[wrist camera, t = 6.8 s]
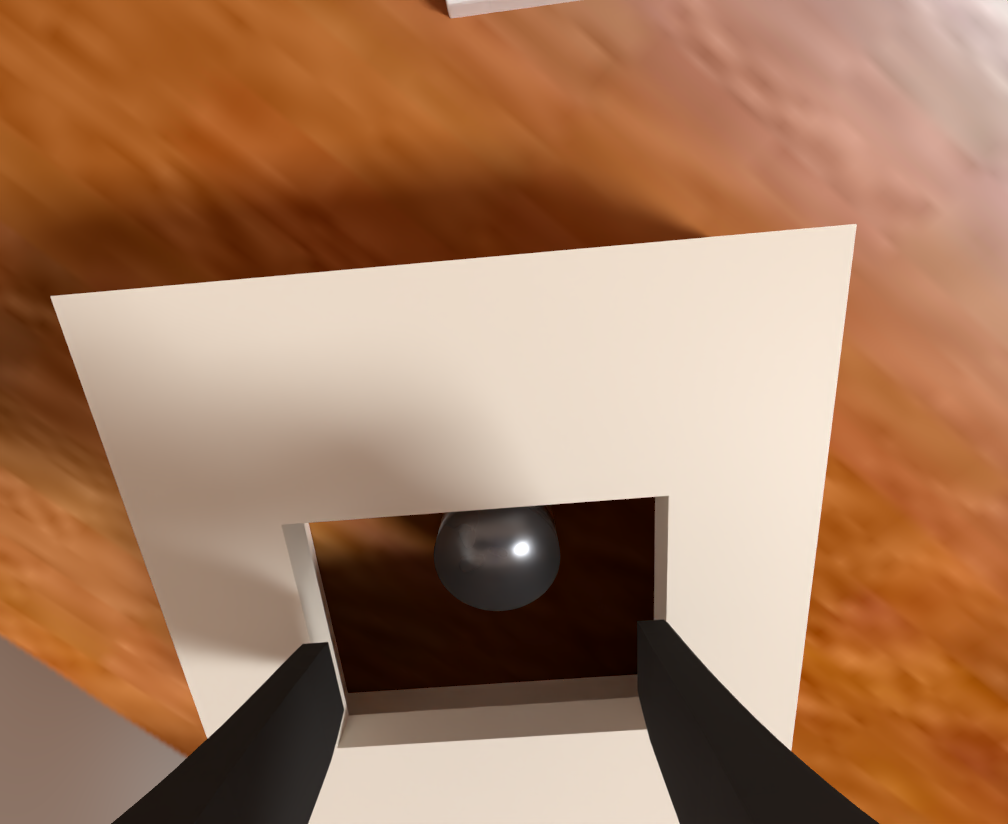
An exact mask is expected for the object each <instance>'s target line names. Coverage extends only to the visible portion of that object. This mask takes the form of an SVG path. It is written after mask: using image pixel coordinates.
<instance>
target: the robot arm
mask: <svg viewBox="0 0 1008 824" xmlns="http://www.w3.org/2000/svg"><path fill="white" fill-rule="evenodd" d="M637 691H638V695H639V700H640V704H641V708H642V712H643V716H644V720H645V724H646V727H647V731H648V735H649V739H650V742H651V745H652V748H653V751H654V754H655V756H656V759H657V762H658V765H659V768H660V770H661V773H662V776H663V779H664V782H665V784H666V787H667V790H668V793H669V795H670V798H671V801H672V804H673V807H674V809H675V812H676V815H677V818H678V820H679V823H680V824H879V823H878V822H877V821H875V820H874V819H873V818H871V817H870V816H869V815H867V814H866V813H865V812H863V811H862V810H861V809H859V808H858V807H857V806H856V805H854V804H853V803H852V802H851V801H849V800H848V799H847V798H846V797H844V796H843V795H842V794H841V793H839V792H838V791H837V790H836V789H835V788H833V787H832V786H831V785H830V784H828V783H827V782H826V781H825V780H824V779H823V778H821V777H820V776H819V775H818V774H817V773H816V772H814V771H813V770H812V769H811V768H810V767H808V766H807V765H806V764H805V763H804V762H803V761H802V760H800V759H799V758H798V757H797V756H796V755H795V754H794V753H793V752H791V751H790V750H789V749H788V748H787V747H786V746H785V745H784V744H783V743H782V742H781V741H779V740H778V739H777V738H776V737H775V736H774V735H773V734H772V733H771V732H770V731H769V730H768V729H767V728H766V727H765V726H764V725H763V724H761V723H760V722H759V721H758V720H757V719H756V718H755V717H754V716H753V715H752V714H751V713H750V712H749V711H748V710H747V709H746V708H745V707H744V706H743V705H742V704H741V703H740V702H739V701H738V700H737V699H736V698H735V697H734V696H733V695H732V694H731V692H730V691H729V690H728V689H727V688H726V687H725V686H724V685H723V684H722V683H721V682H720V681H719V680H718V679H717V678H716V677H715V676H714V675H713V674H712V672H711V671H710V670H709V669H708V668H707V667H706V666H705V665H704V664H703V663H702V661H701V660H700V659H699V658H698V657H697V656H696V655H695V654H694V652H693V651H692V650H691V649H690V648H689V647H688V646H687V644H686V643H685V642H684V641H683V640H682V639H681V637H680V636H679V635H678V634H677V633H676V632H675V630H674V629H673V628H672V627H671V626H670V624H669V623H668V622H666V621H665V620H664V619H661V620H647V621H637ZM343 713H344V707H343V702H342V698H341V694H340V690H339V685H338V681H337V677H336V673H335V669H334V664H333V660H332V656H331V652H330V648H329V643H328V642H321V643H307V644H302V645H301V646H300V647H299V648H298V649H297V650H296V651H295V652H294V653H293V654H292V655H291V656H290V657H289V658H288V659H287V660H286V661H285V662H284V663H283V664H282V665H281V666H280V667H279V668H278V669H277V670H276V671H275V672H274V673H273V674H272V675H271V676H270V677H269V678H268V679H267V680H266V681H265V682H264V683H263V684H262V685H261V687H260V688H259V689H258V690H257V691H256V692H255V693H254V694H253V695H252V696H251V697H250V698H249V699H248V700H247V701H246V702H245V703H244V704H243V705H242V706H241V707H240V708H239V709H238V710H237V711H236V712H235V713H234V714H233V715H232V716H231V717H230V718H229V719H228V720H227V721H226V722H225V723H224V724H223V725H222V726H221V727H220V728H218V729H217V730H216V731H215V732H214V733H213V734H212V735H211V736H210V737H209V738H208V739H207V740H206V741H205V742H204V743H202V744H201V745H200V746H199V747H198V748H197V749H196V750H195V751H194V752H193V753H192V754H191V755H190V756H189V757H188V758H186V759H185V760H184V761H183V762H182V763H181V764H180V765H179V766H178V767H177V768H176V769H175V770H174V771H173V772H171V773H170V774H169V775H168V776H167V777H166V778H165V779H164V780H162V781H161V782H160V783H159V784H158V785H157V786H155V787H154V788H153V789H152V790H151V791H150V792H149V793H147V794H146V795H145V796H144V797H143V798H142V799H140V800H139V801H138V802H137V803H136V804H134V805H133V806H132V807H131V808H130V809H128V810H127V811H126V812H125V813H124V814H122V815H121V816H120V817H119V818H117V819H116V820H115V821H114V822H113V823H111V824H308V823H309V820H310V817H311V815H312V812H313V809H314V807H315V804H316V801H317V799H318V796H319V793H320V790H321V788H322V785H323V782H324V780H325V777H326V774H327V771H328V769H329V766H330V763H331V760H332V756H333V753H334V749H335V745H336V741H337V738H338V734H339V730H340V725H341V721H342V717H343Z"/></svg>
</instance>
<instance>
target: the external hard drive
mask: <svg viewBox="0 0 1008 824" xmlns="http://www.w3.org/2000/svg"><path fill="white" fill-rule="evenodd" d="M571 1H578V0H446V5H447V10H448V14H449V17H450V18H457V17H465V16H473V15H480V14H486V13H492V12H501V11H508V10H515V9H522V8H529V7H536V6H543V5H550V4H557V3H564V2H571Z"/></svg>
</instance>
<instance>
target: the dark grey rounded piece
mask: <svg viewBox="0 0 1008 824" xmlns="http://www.w3.org/2000/svg"><path fill="white" fill-rule="evenodd" d="M434 564H435V568H436V571H437V574H438V577H439V578H440V580H441V582H442V584H443V585H444V586H445V588H446V589H447V590H448V591H449V592H450V593H451V594H452V595H453V596H455V597H456V598H457V599H459V600H460V601H462V602H463V603H466V604H468V605H470V606H472V607H475V608H478V609H483V610H489V611H506V610H512V609H517V608H520V607H523V606H525V605H527V604H529V603H531V602H533V601H535V600H536V599H538V598H539V597H540V596H541V595H543V594H544V593H545V592H546V591H547V590H548V588H549V587H550V586H551V584H552V583H553V581H554V579H555V577H556V576H557V573H558V570H559V565H560V547H559V542H558V537H557V532H556V526H555V521H554V516H553V511H552V506H551V505H538V506H524V507H511V508H498V509H484V510H471V511H457V512H444V513H443V516H442V520H441V524H440V528H439V532H438V535H437V539H436V543H435V547H434Z"/></svg>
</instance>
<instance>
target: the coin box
mask: <svg viewBox="0 0 1008 824" xmlns="http://www.w3.org/2000/svg"><path fill="white" fill-rule="evenodd" d="M856 226H857V224H851V225H840V226H829V227H818V228H807V229H796V230H784V231H773V232H762V233H751V234H740V235H729V236H717V237H706V238H695V239H684V240H673V241H662V242H650V243H639V244H628V245H617V246H606V247H595V248H583V249H572V250H561V251H550V252H539V253H527V254H516V255H505V256H494V257H483V258H472V259H460V260H449V261H438V262H427V263H416V264H405V265H393V266H382V267H371V268H360V269H349V270H338V271H326V272H315V273H304V274H293V275H282V276H271V277H259V278H248V279H237V280H226V281H215V282H204V283H192V284H181V285H170V286H159V287H148V288H136V289H125V290H114V291H103V292H92V293H81V294H69V295H58V296H50V297H51V300H52V303H53V306H54V308H55V311H56V314H57V317H58V320H59V323H60V325H61V328H62V331H63V334H64V337H65V339H66V342H67V345H68V348H69V351H70V353H71V356H72V359H73V362H74V365H75V368H76V370H77V373H78V376H79V379H80V382H81V384H82V387H83V390H84V393H85V396H86V398H87V401H88V404H89V407H90V410H91V413H92V415H93V418H94V421H95V424H96V427H97V429H98V432H99V435H100V438H101V441H102V444H103V446H104V449H105V452H106V455H107V458H108V460H109V463H110V466H111V469H112V472H113V474H114V477H115V480H116V483H117V486H118V489H119V491H120V494H121V497H122V500H123V503H124V505H125V508H126V511H127V514H128V517H129V519H130V522H131V525H132V528H133V531H134V534H135V536H136V539H137V542H138V545H139V548H140V550H141V553H142V556H143V559H144V562H145V565H146V567H147V570H148V573H149V576H150V579H151V581H152V584H153V587H154V590H155V593H156V595H157V598H158V601H159V604H160V607H161V610H162V612H163V615H164V618H165V621H166V624H167V626H168V629H169V632H170V635H171V638H172V640H173V643H174V646H175V649H176V652H177V655H178V657H179V660H180V663H181V666H182V669H183V671H184V674H185V677H186V680H187V683H188V686H189V688H190V691H191V694H192V697H193V700H194V702H195V705H196V708H197V711H198V714H199V716H200V719H201V722H202V725H203V728H204V731H205V733H206V736H207V739H208V738H209V737H210V736H211V735H212V734H213V733H214V732H215V731H216V730H217V729H218V728H220V727H221V726H222V725H223V724H224V723H225V722H226V721H227V720H228V719H229V718H230V717H231V716H232V715H233V714H234V713H235V712H236V711H237V710H238V709H239V708H240V707H241V706H242V705H243V704H244V703H245V702H246V701H247V700H248V699H249V698H250V697H251V696H252V695H253V694H254V693H255V692H256V691H257V690H258V689H259V688H260V687H261V685H262V684H263V683H264V682H265V681H266V680H267V679H268V678H269V677H270V676H271V675H272V674H273V673H274V672H275V671H276V670H277V669H278V668H279V667H280V666H281V665H282V664H283V663H284V662H285V661H286V660H287V659H288V658H289V657H290V656H291V655H292V654H293V653H294V652H295V651H296V650H297V649H298V648H299V647H300V646H301V645H302V644H307V643H321V642H328V643H329V648H330V652H331V656H332V660H333V664H334V669H335V673H336V677H337V681H338V685H339V690H340V694H341V698H342V702H343V707H344V713H343V717H342V721H341V725H340V730H339V734H338V738H337V741H336V745H335V749H334V753H333V756H332V760H331V763H330V766H329V769H328V771H327V774H326V777H325V780H324V782H323V785H322V788H321V790H320V793H319V796H318V799H317V801H316V804H315V807H314V809H313V812H312V815H311V817H310V820H309V823H308V824H680V823H679V820H678V818H677V815H676V812H675V809H674V807H673V804H672V801H671V798H670V795H669V793H668V790H667V787H666V784H665V782H664V779H663V776H662V773H661V770H660V768H659V765H658V762H657V759H656V756H655V754H654V751H653V748H652V745H651V742H650V739H649V735H648V731H647V727H646V724H645V720H644V716H643V712H642V708H641V704H640V700H639V695H638V691H637V675H621V676H606V677H590V678H575V679H559V680H544V681H528V682H513V683H497V684H482V685H466V686H451V687H435V688H420V689H404V690H389V691H373V692H358V693H348V691H347V687H346V683H345V678H344V674H343V670H342V666H341V661H340V657H339V653H338V648H337V644H336V640H335V635H334V631H333V627H332V622H331V618H330V614H329V609H328V605H327V601H326V596H325V592H324V588H323V583H322V579H321V575H320V571H319V566H318V562H317V558H316V553H315V549H314V545H313V540H312V536H311V532H310V527H309V523H310V522H324V521H337V520H350V519H364V518H377V517H391V516H404V515H417V514H431V513H444V512H457V511H471V510H484V509H498V508H511V507H524V506H538V505H551V504H564V503H578V502H591V501H605V500H618V499H631V498H645V497H655V559H654V620H661V619H664V620H665V621H666V622H668V623H669V624H670V626H671V627H672V628H673V629H674V630H675V632H676V633H677V634H678V635H679V636H680V637H681V639H682V640H683V641H684V642H685V643H686V644H687V646H688V647H689V648H690V649H691V650H692V651H693V652H694V654H695V655H696V656H697V657H698V658H699V659H700V660H701V661H702V663H703V664H704V665H705V666H706V667H707V668H708V669H709V670H710V671H711V672H712V674H713V675H714V676H715V677H716V678H717V679H718V680H719V681H720V682H721V683H722V684H723V685H724V686H725V687H726V688H727V689H728V690H729V691H730V692H731V694H732V695H733V696H734V697H735V698H736V699H737V700H738V701H739V702H740V703H741V704H742V705H743V706H744V707H745V708H746V709H747V710H748V711H749V712H750V713H751V714H752V715H753V716H754V717H755V718H756V719H757V720H758V721H759V722H760V723H761V724H763V725H764V726H765V727H766V728H767V729H768V730H769V731H770V732H771V733H772V734H773V735H774V736H775V737H776V738H777V739H778V740H779V741H781V742H782V743H783V744H784V745H785V746H786V747H787V748H788V749H789V750H790V751H791V748H792V740H793V732H794V724H795V716H796V708H797V700H798V692H799V684H800V676H801V668H802V660H803V652H804V644H805V636H806V628H807V620H808V612H809V604H810V596H811V587H812V579H813V571H814V563H815V555H816V547H817V539H818V531H819V523H820V515H821V507H822V499H823V491H824V483H825V475H826V467H827V459H828V451H829V443H830V435H831V427H832V419H833V411H834V403H835V395H836V387H837V378H838V370H839V362H840V354H841V346H842V338H843V330H844V322H845V314H846V306H847V298H848V290H849V282H850V274H851V266H852V258H853V250H854V242H855V234H856Z"/></svg>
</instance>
